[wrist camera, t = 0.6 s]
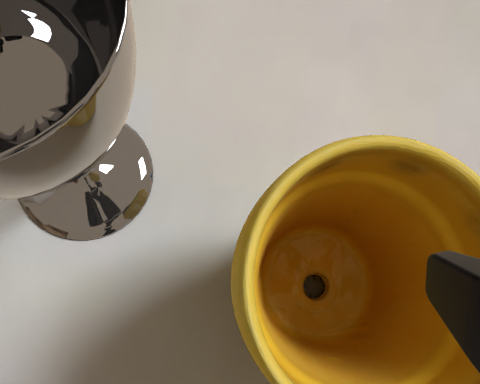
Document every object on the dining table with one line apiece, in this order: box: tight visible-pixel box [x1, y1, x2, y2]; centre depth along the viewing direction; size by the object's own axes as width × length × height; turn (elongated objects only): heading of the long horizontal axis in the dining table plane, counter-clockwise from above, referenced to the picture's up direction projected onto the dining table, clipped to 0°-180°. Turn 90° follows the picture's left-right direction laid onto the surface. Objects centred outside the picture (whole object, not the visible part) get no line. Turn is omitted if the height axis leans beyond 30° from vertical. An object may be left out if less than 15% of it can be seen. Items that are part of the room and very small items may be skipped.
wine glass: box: [0, 0, 153, 240], centre depth 17 cm, size 8×8×15 cm
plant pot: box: [231, 135, 480, 384], centre depth 19 cm, size 10×10×10 cm
